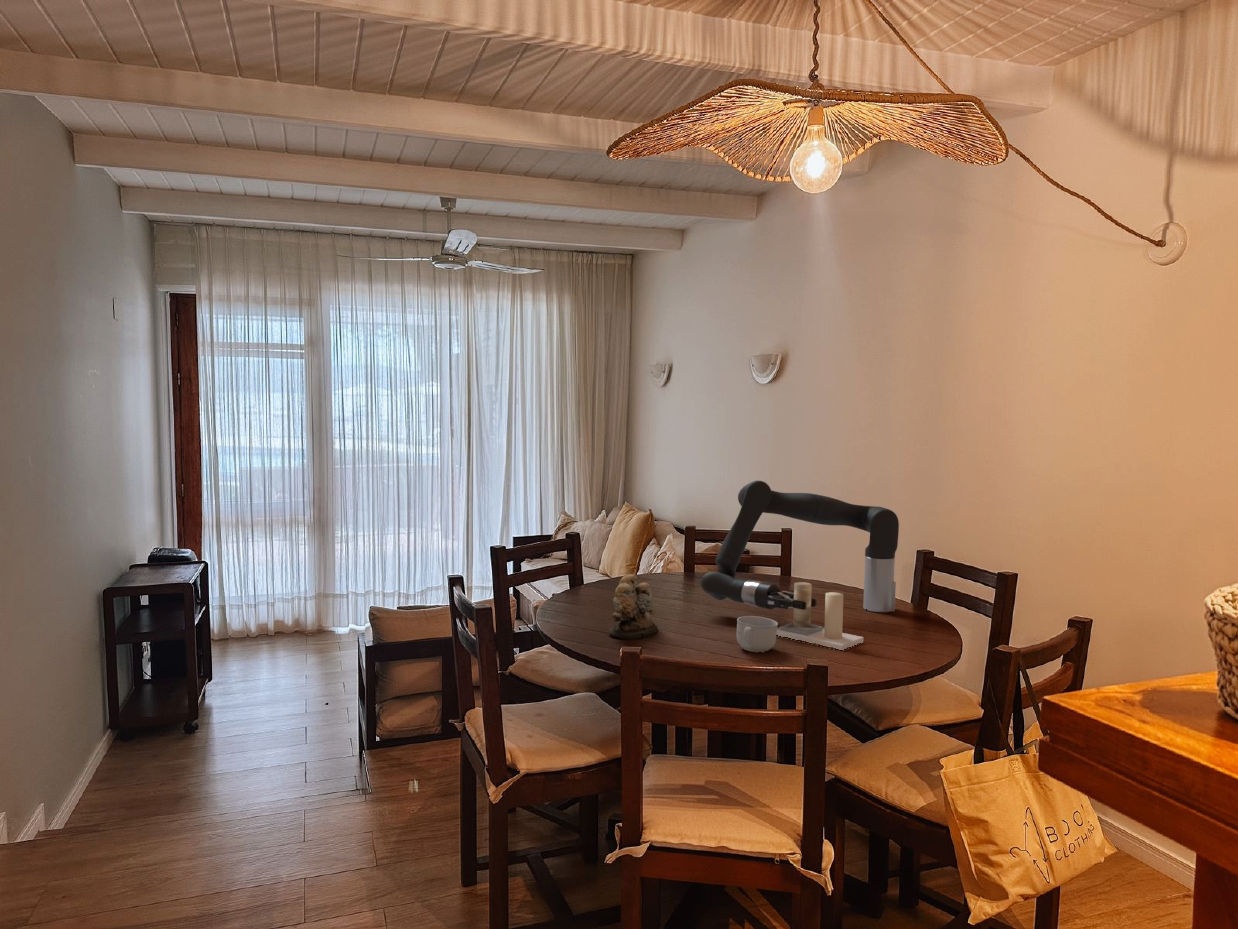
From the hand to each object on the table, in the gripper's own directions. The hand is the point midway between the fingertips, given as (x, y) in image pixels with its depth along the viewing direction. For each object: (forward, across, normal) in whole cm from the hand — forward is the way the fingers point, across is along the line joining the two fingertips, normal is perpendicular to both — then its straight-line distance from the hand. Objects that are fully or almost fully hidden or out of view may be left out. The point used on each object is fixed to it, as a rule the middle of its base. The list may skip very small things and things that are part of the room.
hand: (810, 604), depth 234 cm
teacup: (-3, -23, +10) cm, 25 cm away
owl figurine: (-37, -34, +10) cm, 51 cm away
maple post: (-3, 0, +6) cm, 7 cm away
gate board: (+2, 0, +9) cm, 10 cm away
